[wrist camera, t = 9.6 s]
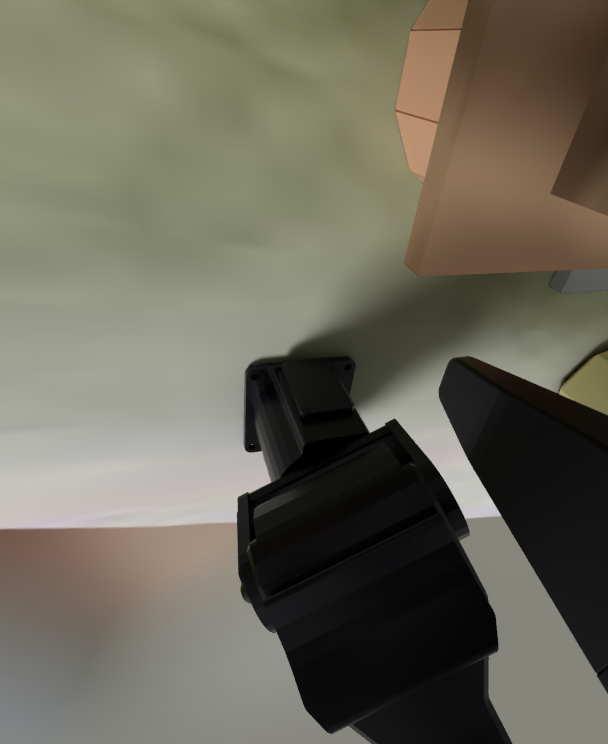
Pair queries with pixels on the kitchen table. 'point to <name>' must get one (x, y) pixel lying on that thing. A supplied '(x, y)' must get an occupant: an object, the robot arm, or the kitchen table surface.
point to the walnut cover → (520, 144)
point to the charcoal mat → (580, 280)
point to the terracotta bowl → (427, 78)
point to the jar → (589, 384)
